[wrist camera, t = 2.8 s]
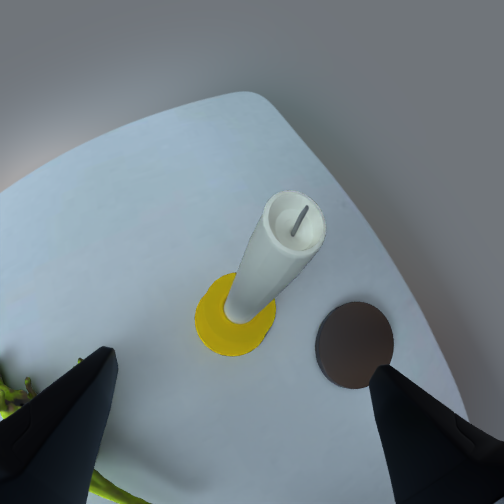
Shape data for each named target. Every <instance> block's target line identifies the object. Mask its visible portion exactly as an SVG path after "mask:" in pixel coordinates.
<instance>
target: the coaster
mask: <svg viewBox="0 0 504 504" xmlns="http://www.w3.org/2000/svg"><path fill="white" fill-rule="evenodd" d="M393 349H394V339H393V333H392V329H391V326H390V324H389V322H388V320H387V319H386V317H385V316H384V315H383V313H382V312H381V311H380V310H378V309H377V308H376V307H374V306H372V305H370V304H368V303H365V302H350V303H346V304H344V305H342V306H339V307H337V308H336V309H334V310H333V311H331V312H330V313H329V314H328V315H327V316H326V317H325V319H324V320H323V322H322V324H321V325H320V327H319V330H318V333H317V337H316V343H315V351H316V358H317V362H318V364H319V367H320V369H321V371H322V372H323V374H324V375H325V376H326V377H327V378H328V379H329V380H330V381H331V382H332V383H334V384H336V385H338V386H340V387H344V388H350V389H359V388H364V387H367V386H369V381H370V378H371V377H372V375H373V374H374V372H375V370H376V369H377V367H378V366H379V365H386V364H388V365H389V364H390V362H391V359H392V355H393Z"/></svg>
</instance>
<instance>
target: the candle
mask: <svg viewBox="0 0 504 504" xmlns="http://www.w3.org/2000/svg"><path fill="white" fill-rule="evenodd" d="M325 236H326V222H325V218H324V215H323V213H322V210H321V209H320V208H319V206H318V205H317V203H316V202H315V201H313V200H312V199H311V198H310V197H308V196H307V195H305V194H303V193H301V192H298V191H291V190H287V191H282V192H279V193H277V194H275V195H273V196H272V197H271V198H270V199H269V200H268V201H267V203H266V205H265V207H264V210H263V214H262V216H261V218H260V220H259V222H258V224H257V226H256V228H255V230H254V232H253V234H252V236H251V238H250V240H249V243H248V245H247V248H246V250H245V253H244V255H243V258H242V261H241V263H240V266H239V268H238V271H237V273H230V274H227V275H224V276H222V277H220V278H219V279H217V280H216V281H215V282H214V283H213V284H212V285H211V286H210V287H209V289H208V291H207V293H206V294H205V295H204V296H203V298H202V299H201V300H200V302H199V304H198V306H197V308H196V313H195V327H196V330H197V333H198V335H199V337H200V339H201V340H202V342H203V343H204V344H205V345H206V346H207V347H208V348H209V349H211V350H212V351H214V352H216V353H218V354H220V355H225V356H240V355H243V354H246V353H249V352H251V351H252V350H253V349H255V348H256V347H257V346H259V344H260V343H261V342H262V340H263V339H264V337H265V335H266V333H267V331H268V330H269V329H270V327H271V326H272V324H273V321H274V319H275V314H276V304H275V297H276V296H277V295H278V294H279V293H281V292H282V291H283V290H284V289H285V288H286V287H287V286H288V285H289V284H290V283H291V282H292V281H293V280H294V279H295V278H296V277H297V276H298V275H299V274H300V272H301V271H302V270H303V269H304V268H305V266H306V265H307V264H308V263H309V262H310V260H311V259H312V258H313V257H314V256H315V254H316V253H317V252H318V250H319V249H320V248H321V246H322V245H323V242H324V239H325Z"/></svg>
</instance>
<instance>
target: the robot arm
mask: <svg viewBox="0 0 504 504" xmlns="http://www.w3.org/2000/svg"><path fill="white" fill-rule="evenodd" d="M117 374H118V362H117V358H116V354H115V350H114V349H113V348H110V347H105V346H102V347H100V348H99V349H97V350H96V351H95V352H93V353H92V354H91V355H89V356H88V357H87V358H85V359H84V360H83V361H81V362H80V363H79V364H77V365H76V366H75V367H73V368H72V369H71V370H69V371H68V372H67V373H65V374H64V375H63V376H61V377H60V378H59V379H57V380H56V381H55V382H53V383H52V384H51V385H50V386H48V387H47V388H46V389H44V390H43V391H42V392H40V393H39V394H38V395H36V396H35V397H34V398H33V399H31V400H30V401H29V402H27V403H26V404H25V405H23V406H22V407H21V408H19V409H18V410H17V411H15V412H14V413H13V414H11V415H10V416H8V417H7V418H5V419H3V420H2V421H0V504H86V501H87V496H88V491H89V487H90V482H91V478H92V474H93V470H94V466H95V462H96V458H97V454H98V451H99V447H100V443H101V440H102V436H103V433H104V429H105V426H106V423H107V420H108V416H109V413H110V409H111V404H112V399H113V393H114V388H115V384H116V379H117ZM369 389H370V394H371V399H372V405H373V410H374V416H375V421H376V425H377V428H378V432H379V435H380V439H381V443H382V447H383V450H384V454H385V458H386V462H387V466H388V471H389V475H390V479H391V484H392V488H393V493H394V498H395V502H396V504H504V442H503V441H500V440H497V439H495V438H494V437H492V436H490V435H488V434H486V433H485V432H483V431H482V430H480V429H478V428H477V427H475V426H473V425H472V424H470V423H469V422H467V421H466V420H464V419H463V418H461V417H460V416H459V415H457V414H456V413H454V412H453V411H452V410H450V409H449V408H448V407H446V406H445V405H444V404H442V403H441V402H439V401H438V400H437V399H435V398H434V397H433V396H431V395H430V394H428V393H427V392H426V391H424V390H423V389H422V388H420V387H419V386H418V385H416V384H415V383H414V382H412V381H411V380H409V379H408V378H407V377H405V376H404V375H403V374H401V373H400V372H399V371H397V370H396V369H395V368H393V367H392V366H390V365H388V364H386V365H379V366H378V367H377V369H376V370H375V372H374V374H373V375H372V377H371V378H370V381H369Z"/></svg>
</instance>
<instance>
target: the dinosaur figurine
mask: <svg viewBox="0 0 504 504" xmlns="http://www.w3.org/2000/svg"><path fill="white" fill-rule="evenodd" d="M81 361H83V359H81V358H79V359H78V364H79V363H80V362H81ZM73 367H75V366H73ZM25 385H26V389H27V390H28V394H27V392H26V391H23V390H14V389H10V388H9V387H8V386H6V385H4V383H3V380H2V377H1V374H0V413H1V416H2V417H3V419H5V418H7V417H8V416H10V415H11V414H13V413H14V412H15V411H17V410H18V409H19V408H21V407H22V406H23V405H25V404H26V403H27V402H29V401H30V400H31V399H33V398H34V397H35V396H36V395H37V394H36V393H35V391H34V390H33V388H32V386H31V380H30V378H29V377H26V379H25ZM89 492H92V493H94V494H96V495H98V496H101V497H103V498H106V499H109V500H111V501H114V502H116V503H119V504H151V503H148V502H146V501H145V500H143V499H141V498H138V497H135V496H133V495H131V494H130V493H128V492H126V491H124V490H122V489H120V488H118V487H117V486H115V485H114V484H113V483H111V482H110V481H108V480H107V479H105V478H104V477H103V476H102V475H101V474H100V473H99V472H98V471H96V470H95V469H94V470H93V474H92V478H91V482H90V487H89Z"/></svg>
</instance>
